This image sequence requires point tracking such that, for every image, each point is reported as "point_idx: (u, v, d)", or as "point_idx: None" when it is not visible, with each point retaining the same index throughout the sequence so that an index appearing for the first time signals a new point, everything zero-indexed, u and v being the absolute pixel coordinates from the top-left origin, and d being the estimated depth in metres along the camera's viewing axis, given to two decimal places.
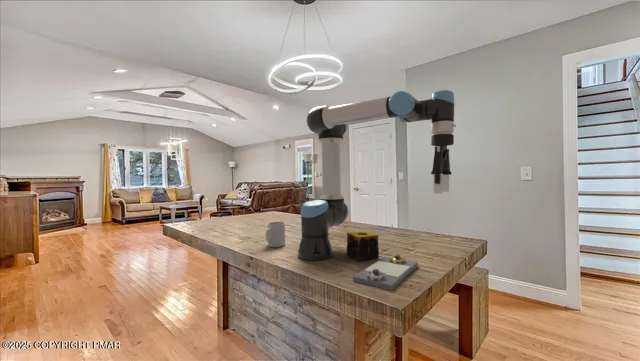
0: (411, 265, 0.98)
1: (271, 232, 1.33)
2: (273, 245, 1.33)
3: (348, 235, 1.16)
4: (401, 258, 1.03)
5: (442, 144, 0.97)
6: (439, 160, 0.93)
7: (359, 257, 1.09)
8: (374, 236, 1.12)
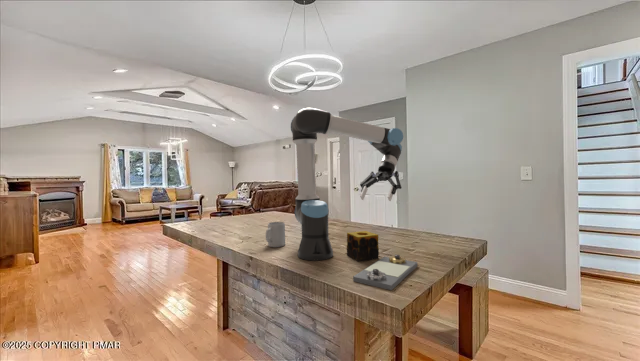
0: (411, 265, 0.98)
1: (271, 232, 1.33)
2: (273, 245, 1.33)
3: (348, 235, 1.16)
4: (401, 258, 1.03)
5: (392, 172, 1.32)
6: (399, 181, 1.26)
7: (359, 257, 1.09)
8: (374, 236, 1.12)
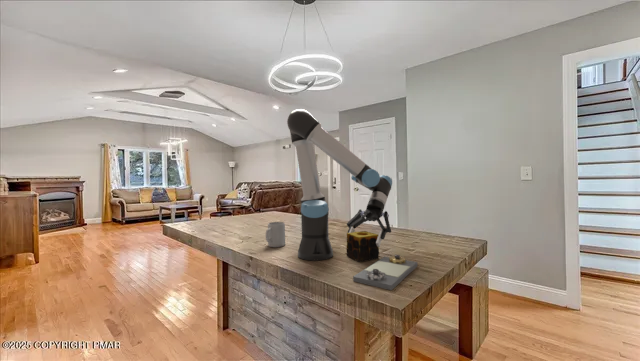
0: (411, 265, 0.98)
1: (271, 232, 1.33)
2: (273, 245, 1.33)
3: (348, 235, 1.16)
4: (401, 258, 1.03)
5: (382, 212, 1.22)
6: None
7: (360, 257, 1.09)
8: (374, 236, 1.12)
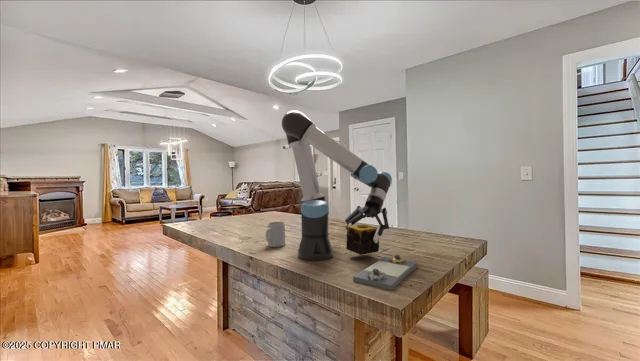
0: (411, 265, 0.98)
1: (271, 232, 1.33)
2: (273, 245, 1.33)
3: (348, 228, 1.16)
4: (401, 258, 1.03)
5: (380, 208, 1.21)
6: (387, 220, 1.15)
7: (361, 250, 1.08)
8: (375, 229, 1.12)
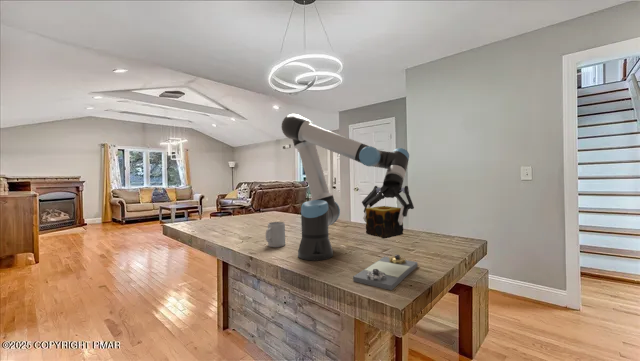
0: (411, 265, 0.98)
1: (271, 232, 1.33)
2: (273, 245, 1.33)
3: (368, 211, 1.03)
4: (401, 258, 1.03)
5: (401, 187, 1.09)
6: None
7: (385, 233, 0.96)
8: (398, 210, 1.00)
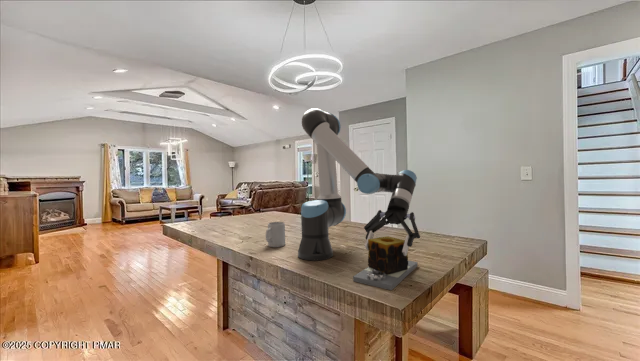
0: (411, 265, 0.98)
1: (271, 232, 1.33)
2: (273, 245, 1.33)
3: (370, 242, 0.97)
4: None
5: (406, 213, 1.02)
6: None
7: (388, 269, 0.89)
8: (403, 243, 0.93)
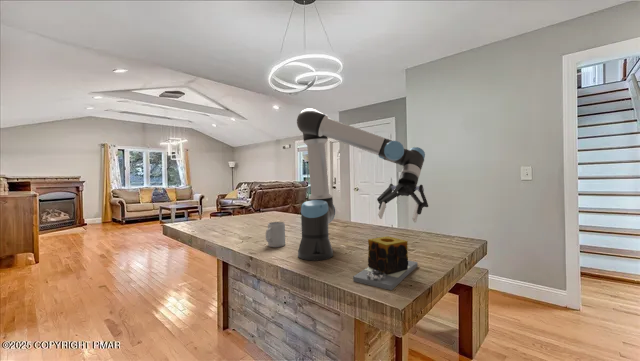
0: (411, 265, 0.98)
1: (271, 232, 1.33)
2: (273, 245, 1.33)
3: (370, 242, 0.97)
4: None
5: None
6: None
7: (388, 269, 0.89)
8: (403, 243, 0.93)
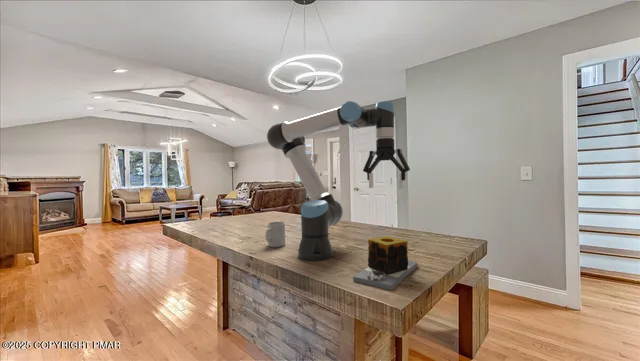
0: (411, 265, 0.98)
1: (271, 232, 1.33)
2: (273, 245, 1.33)
3: (370, 242, 0.97)
4: None
5: None
6: (405, 161, 1.13)
7: (388, 269, 0.89)
8: (403, 243, 0.93)
